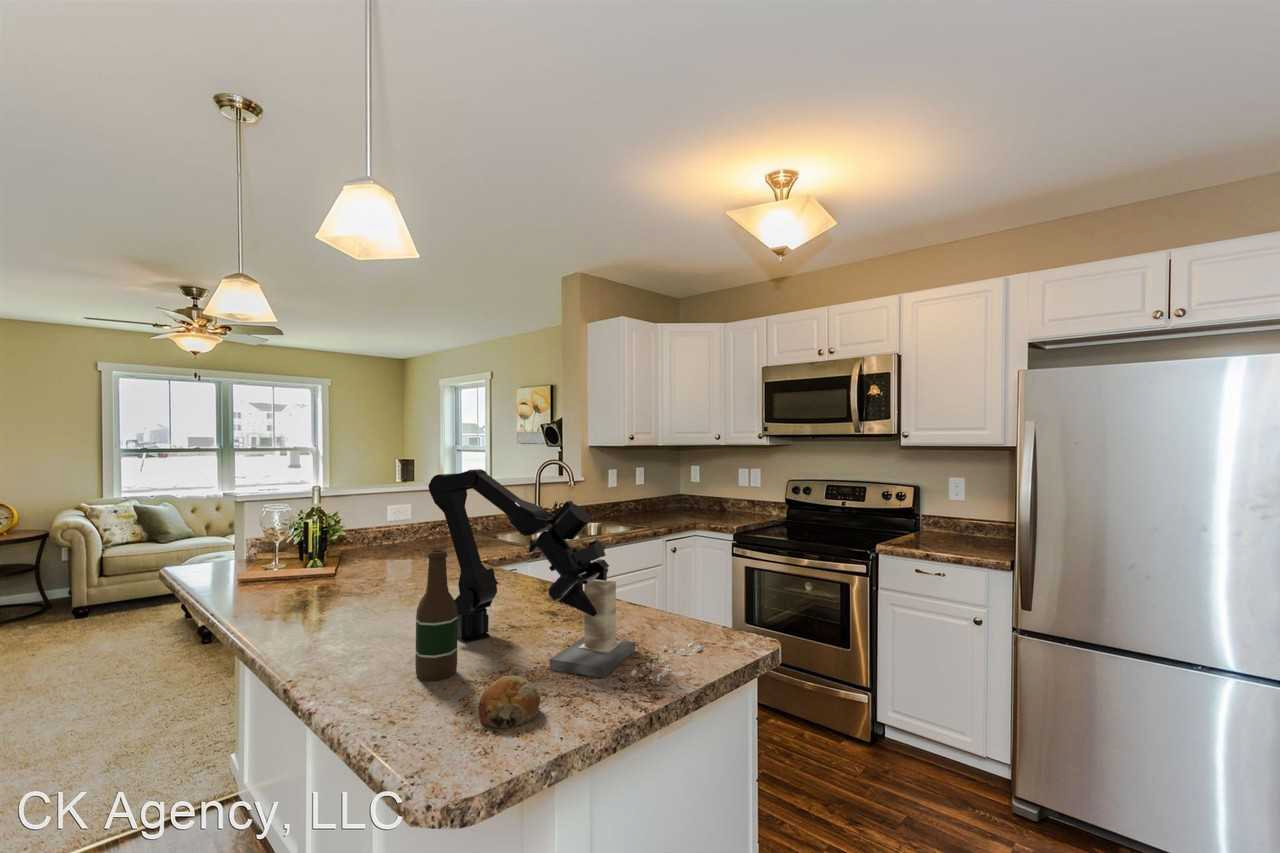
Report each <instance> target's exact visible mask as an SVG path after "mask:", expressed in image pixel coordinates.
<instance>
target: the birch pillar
mask: <svg viewBox="0 0 1280 853" xmlns="http://www.w3.org/2000/svg"><path fill="white" fill-rule="evenodd" d="M616 586H617V581H613V580H607V581H605V580H593V581H591V582H589V583H587V584H583V591H584V593H585V594H586V596H587V597H588V599H589V600H590V602H591V603H592V605H593V606H594V608H595V610H596V611H597V614H596V615H595V616H591V615H589V614H587V613H585V612H583V613H584V615H583V616H584V632H583V633H584V635H583V637H584V646H585V647H592V648H599V649H607V648H608V647H610V646H611V645H613V644H614V643H615V642H616V639H617V629H616V628H617V615H616V614H617V608H616V607H617V605H616V604H617V601H616V600H617V592H616V591H617V587H616Z"/></svg>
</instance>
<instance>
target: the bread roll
mask: <svg viewBox="0 0 1280 853" xmlns="http://www.w3.org/2000/svg"><path fill="white" fill-rule="evenodd" d="M540 703H541V696H540V694H539V692H538V690H537V689H536V687H535V686H534V685H533V684H532V683H531V682H530V681H529V680H527V679H526V678H524V677H521V676H518V675H504V676H501V677H500V678H498V679H497V680H495V681H494V682H492V683H491V684H490V685H489V686H488V688H485V689H484V691H483V692H482V695H481V696H480V698H479V703H478V717H479V719H480V721H481V723H482V724H483V725H484V726H487V727H491V728H497V729H508V728H513V727H514V728H515V727H518V726H521V725H523V724H526V723H529V722H531V721H532V720H533V719H534V718H536V716H537V715H538V713H539V710H540V708H539V707H540V705H541V704H540Z"/></svg>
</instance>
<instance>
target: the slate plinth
mask: <svg viewBox="0 0 1280 853" xmlns="http://www.w3.org/2000/svg"><path fill="white" fill-rule="evenodd" d="M635 652H636V641H632V640H625V639H617V638H616V642H615V643H614V644H613V645H611V646H610V647H608V648H607V649H599V648H592V647H585V646H584V636H583V637H582V638H580V639H578V640H577V641H575V642H574V643H572V644H571V645H569V646H568V647H566V648H564V649H563V650H562V651H560V652H559V653H557V654H556V655H554V656H552V657H551V658H550V659H549V670H552V671H559V672H564V673H569V674H570V673H572V674H576V675H577V674H578V675H582V676H583V675H584V676H589V677H590V676H591V677H597V678H602V679H604V678H606V677H607V676H608V675H610V673H612V672H613V671H614V670H615V669H616V668H618V667H619V666H620V665H621V664H622V663H623V662H624V661H626V660H627V659H628V658H629V657H630V656H632V655H633V654H634V653H635Z"/></svg>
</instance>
